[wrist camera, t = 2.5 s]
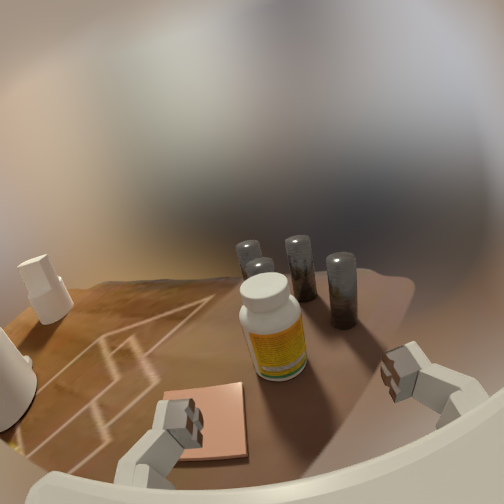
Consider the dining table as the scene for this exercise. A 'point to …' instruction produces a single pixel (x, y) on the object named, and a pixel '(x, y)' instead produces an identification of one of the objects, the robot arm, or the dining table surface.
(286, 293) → the supplement bottle
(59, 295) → the cylinder with rectangular tab
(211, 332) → the dining table surface
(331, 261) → the posts
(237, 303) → the dining table surface
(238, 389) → the terracotta tile
